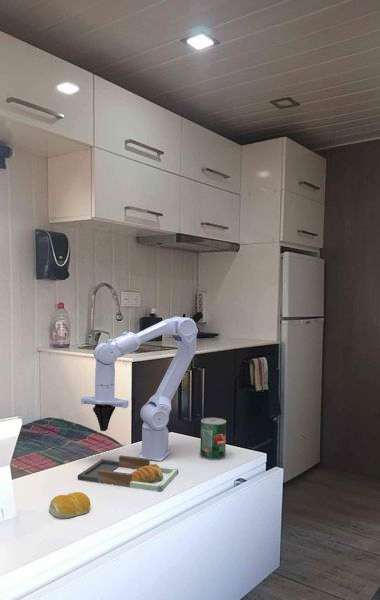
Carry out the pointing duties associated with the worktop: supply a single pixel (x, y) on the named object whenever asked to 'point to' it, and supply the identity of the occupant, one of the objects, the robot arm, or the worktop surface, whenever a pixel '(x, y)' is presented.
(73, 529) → the worktop surface
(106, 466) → the tray
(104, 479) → the corridor
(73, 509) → the bread roll
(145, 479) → the pastry
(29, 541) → the worktop surface
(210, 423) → the canned tomato
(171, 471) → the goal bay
